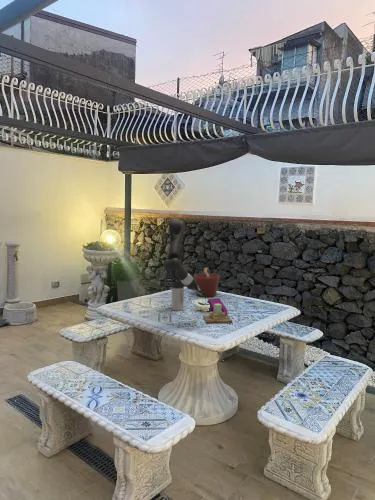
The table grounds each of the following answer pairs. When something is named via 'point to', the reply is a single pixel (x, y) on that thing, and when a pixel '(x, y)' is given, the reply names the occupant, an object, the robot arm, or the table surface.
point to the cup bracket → (217, 318)
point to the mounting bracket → (216, 301)
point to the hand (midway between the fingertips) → (203, 296)
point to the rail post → (217, 308)
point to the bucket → (207, 282)
